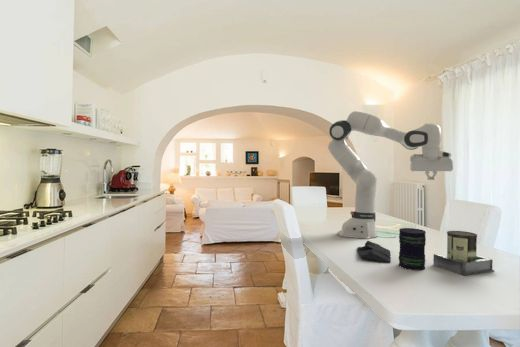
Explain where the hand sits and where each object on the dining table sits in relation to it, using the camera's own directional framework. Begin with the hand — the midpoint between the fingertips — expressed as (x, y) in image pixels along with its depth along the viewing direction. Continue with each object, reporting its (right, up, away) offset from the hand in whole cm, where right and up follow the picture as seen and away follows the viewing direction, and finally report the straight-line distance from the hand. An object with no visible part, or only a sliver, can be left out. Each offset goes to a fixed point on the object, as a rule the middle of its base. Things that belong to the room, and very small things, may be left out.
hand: (430, 179), depth 165 cm
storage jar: (-29, -35, -38) cm, 60 cm away
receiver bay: (-9, -35, -39) cm, 53 cm away
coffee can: (-9, -35, -39) cm, 53 cm away
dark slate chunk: (-39, -35, -22) cm, 57 cm away
